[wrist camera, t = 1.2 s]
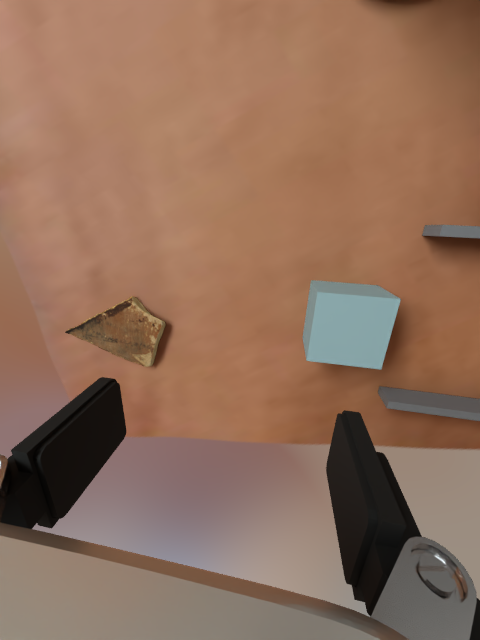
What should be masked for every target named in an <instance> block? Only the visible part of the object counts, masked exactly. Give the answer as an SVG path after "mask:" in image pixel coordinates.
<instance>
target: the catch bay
mask: <svg viewBox="0 0 480 640" xmlns="http://www.w3.org/2000/svg"><path fill="white" fill-rule="evenodd" d="M422 236H442V237H461V238H480V227H479V226H457V225H425V227H424V231H423V235H422ZM378 394H379V396H380V397H381V399H382V401H383V402H384V404H385V406H386V408H389V409H396V410H403V411H411V412H418V413H425V414H432V415H439V416H447V417H454V418H461V419H468V420H475V421H480V399H475V398H467V397H460V396H452V395H444V394H436V393H428V392H421V391H413V390H405V389H397V388H389V387H382V386H380V387H379V390H378Z"/></svg>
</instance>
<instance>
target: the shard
mask: <svg viewBox="0 0 480 640" xmlns="http://www.w3.org/2000/svg"><path fill="white" fill-rule="evenodd" d="M165 326H166V325H165V322H164V321H162V320H160V319H158V318H156V317H154V316H152V315H151V314H150V313H149V312H148V311H147V310H146V309H145V308H144V306H143V305H142V304H141V302H140V301H139V300H138V299H137V298H136V297H134V296H132V297H130V298H129V299H128V300H125V301H124V302H122V303H119V304H117V305H115V306H114V307H112V308H110V309H108V310H106V311H104V312H102V313H100V314H97V315H96V316H94V317H91V318H90V319H87V320H86V321H85V322H83V323H82V324H81V325H79V326H76V327H75V328H70V329H69V330H67V331H66V332H65V333H68V334H71V335H73V336H75V337H78V338H80V339H82V340H86V341H88V342H90V343H92V344H94V345H96V346H98V347H99V348H101V349H103V350H105V351H108V352H111V353H112V354H114V355H116V356H119V357H122V358H124V359H126V360H128V361H131V362H136V363H138V364H141V365H142V366H146V367H147V366H152V364H153V363H154V360H155V356H156V352H157V348H158V343H159V341H160V338H161V336H162V334H163V330H164V328H165Z"/></svg>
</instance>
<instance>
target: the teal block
mask: <svg viewBox="0 0 480 640" xmlns="http://www.w3.org/2000/svg"><path fill="white" fill-rule="evenodd" d="M400 300H401V299H400V298H398V297H396V296H395V295H393V294H391V293H390V292H388V291H386V290H385V289H383V288H381V287H380V286H378V285H365V284H352V283H339V282H327V281H314V280H311V285H310V291H309V298H308V305H307V312H306V318H305V325H304V332H303V343H304V348H305V354H306V360H307V361H313V362H322V363H330V364H338V365H347V366H355V367H363V368H372V369H380V370H381V369H382V365H383V361H384V358H385V354H386V351H387V347H388V343H389V340H390V336H391V333H392V329H393V325H394V322H395V318H396V315H397V311H398V307H399V304H400Z"/></svg>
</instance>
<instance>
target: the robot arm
mask: <svg viewBox="0 0 480 640" xmlns="http://www.w3.org/2000/svg"><path fill="white" fill-rule="evenodd" d="M125 435H126V425H125V418H124V411H123V405H122V398H121V391H120V385H119V383H117V381H116V380H115V379H111V378H104V377H102V378H99V379H98V380H97V381H96V382H94V383H93V384H92V385H91V386H89V387H88V388H87V389H86V390H84V391H83V392H82V393H81V394H80V395H78V396H77V397H76V398H75V399H73V400H72V401H71V402H70V403H69V404H67V405H66V406H65V407H64V408H62V409H61V410H60V411H59V412H57V413H56V414H55V415H54V416H52V417H51V418H50V419H49V420H48V421H46V422H45V423H44V424H43V425H41V426H40V427H39V428H38V429H36V430H35V431H34V432H33V433H32V434H30V435H29V436H28V437H27V438H25V439H24V440H23V441H22V442H20V443H19V444H18V445H17V446H15V447H14V448H13V449H12V450H11V452H12V454H13V455H12V456H10V457H9V458H8V459H7V458H6V457H5V456H4V455H1V454H0V640H480V600H479V599H478V598H477V597H476V590H475V587H474V584H473V581H472V579H471V577H470V576H469V574H468V573H467V571H466V569H465V568H464V566H463V565H462V564H461V563H460V562H459V560H458V559H456V557H455V556H454V555H453V554H451V553H450V552H449V551H448V550H447V549H446V548H444V547H443V546H441V545H440V544H438V543H437V542H435V541H433V540H430V539H428V538H425V537H422V536H421V534H420V532H419V530H418V527H417V525H416V523H415V520H414V518H413V516H412V514H411V512H410V509H409V507H408V505H407V502H406V500H405V498H404V496H403V493H402V491H401V489H400V487H399V485H398V482H397V480H396V478H395V476H394V473H393V471H392V469H391V467H390V465H389V462H388V460H387V458H386V457H385V455H384V454H383V453H380V452H376V451H375V448H374V446H373V443H372V441H371V438H370V436H369V434H368V431H367V429H366V426H365V424H364V421H363V419H362V416H361V414H360V413H359V412H352V411H345V410H344V411H343V412H342V414H338V415H337V418H336V423H335V428H334V432H333V437H332V442H331V446H330V451H329V456H328V461H327V467H326V468H327V469H326V471H327V478H328V483H329V490H330V496H331V501H332V507H333V513H334V518H335V524H336V530H337V536H338V542H339V548H340V553H341V559H342V565H343V570H344V576H345V580H346V583H347V584H350V585H352V588H353V594H354V599H355V600H358V601H363V602H365V605H366V609H367V613H368V614H369V615H370V617H368V616H366V615H364V614H361V613H359V612H357V611H354V610H351V609H348V608H345V607H342V606H339V605H336V604H333V603H330V602H327V601H324V600H320V599H317V598H313V597H309V596H305V595H301V594H298V593H294V592H290V591H287V590H283V589H279V588H276V587H272V586H268V585H264V584H260V583H256V582H252V581H248V580H243V579H239V578H235V577H231V576H227V575H223V574H219V573H215V572H210V571H207V570H203V569H199V568H195V567H190V566H186V565H182V564H178V563H174V562H170V561H165V560H161V559H157V558H153V557H149V556H145V555H140V554H136V553H132V552H128V551H123V550H119V549H115V548H111V547H107V546H102V545H98V544H94V543H89V542H85V541H80V540H76V539H72V538H68V537H64V536H59V535H54V534H51V533H46V532H42V531H37V530H33V529H32V528H33V527H34V525H35V524H36V523H38V525H40V526H44V527H48V528H52V527H53V526H54V525H55V524H56V522H57V521H58V520H59V519H60V518H63V517H64V516H65V515H66V514H67V513H68V511H69V510H70V509H71V507H72V506H73V505H74V504H75V502H76V501H77V500H78V498H79V497H80V496H81V494H82V493H83V492H84V490H85V489H86V488H87V486H88V485H89V484H90V483H91V481H92V480H93V478H94V477H95V476H96V475H97V473H98V472H99V471H100V469H101V468H102V467H103V465H104V464H105V463H106V462H107V460H108V459H109V457H110V456H111V455H112V453H113V452H114V451H115V450H116V448H117V447H118V446H119V444H120V443H121V442H122V440H123V439H124V437H125Z"/></svg>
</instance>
